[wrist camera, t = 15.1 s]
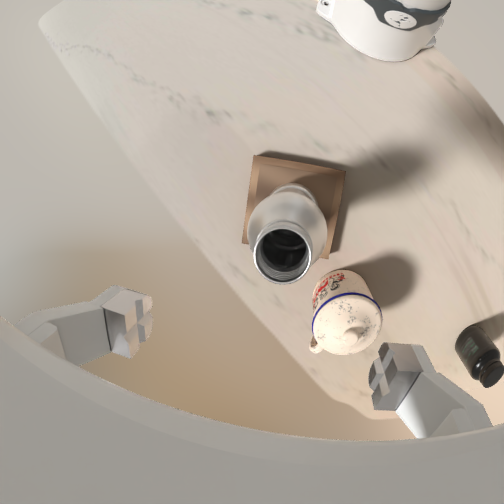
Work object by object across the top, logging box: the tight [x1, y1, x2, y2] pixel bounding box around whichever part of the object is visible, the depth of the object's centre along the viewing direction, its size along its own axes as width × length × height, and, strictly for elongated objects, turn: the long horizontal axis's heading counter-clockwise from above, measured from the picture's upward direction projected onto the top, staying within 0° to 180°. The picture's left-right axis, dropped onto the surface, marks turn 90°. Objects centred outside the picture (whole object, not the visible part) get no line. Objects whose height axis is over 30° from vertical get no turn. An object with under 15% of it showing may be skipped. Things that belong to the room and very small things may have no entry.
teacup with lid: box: [309, 270, 382, 355], centre depth 35 cm, size 12×9×12 cm
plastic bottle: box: [247, 183, 327, 284], centre depth 26 cm, size 6×7×20 cm
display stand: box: [242, 155, 346, 259], centre depth 36 cm, size 12×12×2 cm
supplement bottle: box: [455, 325, 504, 388], centre depth 33 cm, size 7×7×12 cm
